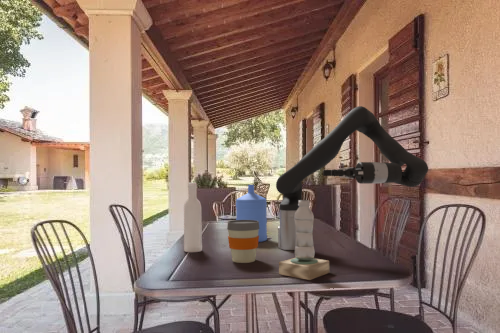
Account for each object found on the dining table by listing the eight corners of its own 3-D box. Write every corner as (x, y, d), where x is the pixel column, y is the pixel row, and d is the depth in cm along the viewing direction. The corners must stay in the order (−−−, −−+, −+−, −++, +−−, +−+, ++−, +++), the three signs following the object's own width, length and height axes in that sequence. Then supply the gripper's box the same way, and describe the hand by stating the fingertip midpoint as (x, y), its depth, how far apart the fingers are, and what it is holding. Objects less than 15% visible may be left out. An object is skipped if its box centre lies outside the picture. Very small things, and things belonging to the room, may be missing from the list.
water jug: (267, 242, 197) (266, 185, 197) (235, 243, 197) (234, 185, 198) (266, 237, 212) (266, 184, 213) (236, 238, 213) (236, 184, 213)
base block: (279, 274, 134) (278, 261, 134) (299, 267, 143) (299, 255, 143) (309, 280, 126) (309, 266, 127) (329, 272, 135) (329, 259, 136)
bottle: (185, 253, 173) (184, 182, 174) (182, 249, 181) (181, 182, 181) (203, 251, 176) (203, 182, 176) (200, 248, 183) (199, 182, 184)
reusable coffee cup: (229, 264, 150) (228, 223, 150) (226, 257, 162) (225, 220, 162) (262, 263, 152) (262, 222, 152) (256, 256, 164) (256, 219, 164)
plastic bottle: (314, 262, 131) (313, 201, 131) (293, 262, 133) (293, 200, 133) (315, 258, 138) (314, 199, 138) (295, 257, 139) (294, 199, 139)
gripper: (362, 162, 150) (320, 162, 147) (380, 161, 136) (334, 161, 133) (362, 182, 150) (320, 183, 147) (380, 184, 135) (334, 184, 133)
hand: (327, 172), depth 140 cm, fingers open, 8 cm apart
